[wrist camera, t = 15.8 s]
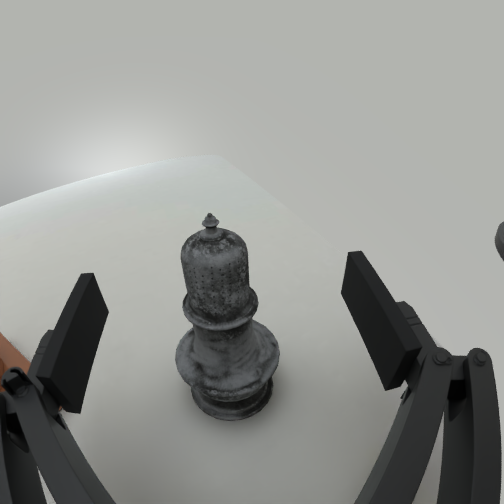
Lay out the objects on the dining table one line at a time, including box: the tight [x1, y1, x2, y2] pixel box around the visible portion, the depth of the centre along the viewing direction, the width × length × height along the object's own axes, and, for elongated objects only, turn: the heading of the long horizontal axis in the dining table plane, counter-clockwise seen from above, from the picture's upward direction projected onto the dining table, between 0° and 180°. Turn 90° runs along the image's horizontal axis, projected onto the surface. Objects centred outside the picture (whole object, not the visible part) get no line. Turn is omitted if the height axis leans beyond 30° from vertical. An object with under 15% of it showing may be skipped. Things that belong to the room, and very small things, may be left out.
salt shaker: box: [175, 213, 280, 420], centre depth 15 cm, size 6×6×12 cm
